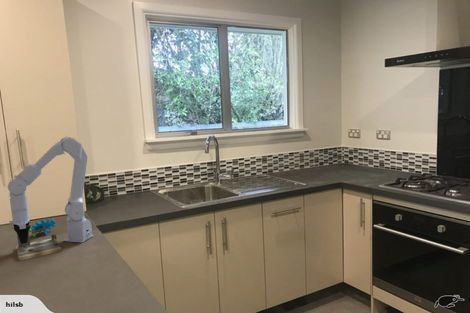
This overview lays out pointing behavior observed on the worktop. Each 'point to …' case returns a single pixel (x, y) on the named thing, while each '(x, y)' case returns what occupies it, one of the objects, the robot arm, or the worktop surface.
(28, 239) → the grey rectangular block
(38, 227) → the blue bumpy figurine
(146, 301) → the worktop surface
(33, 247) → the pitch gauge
